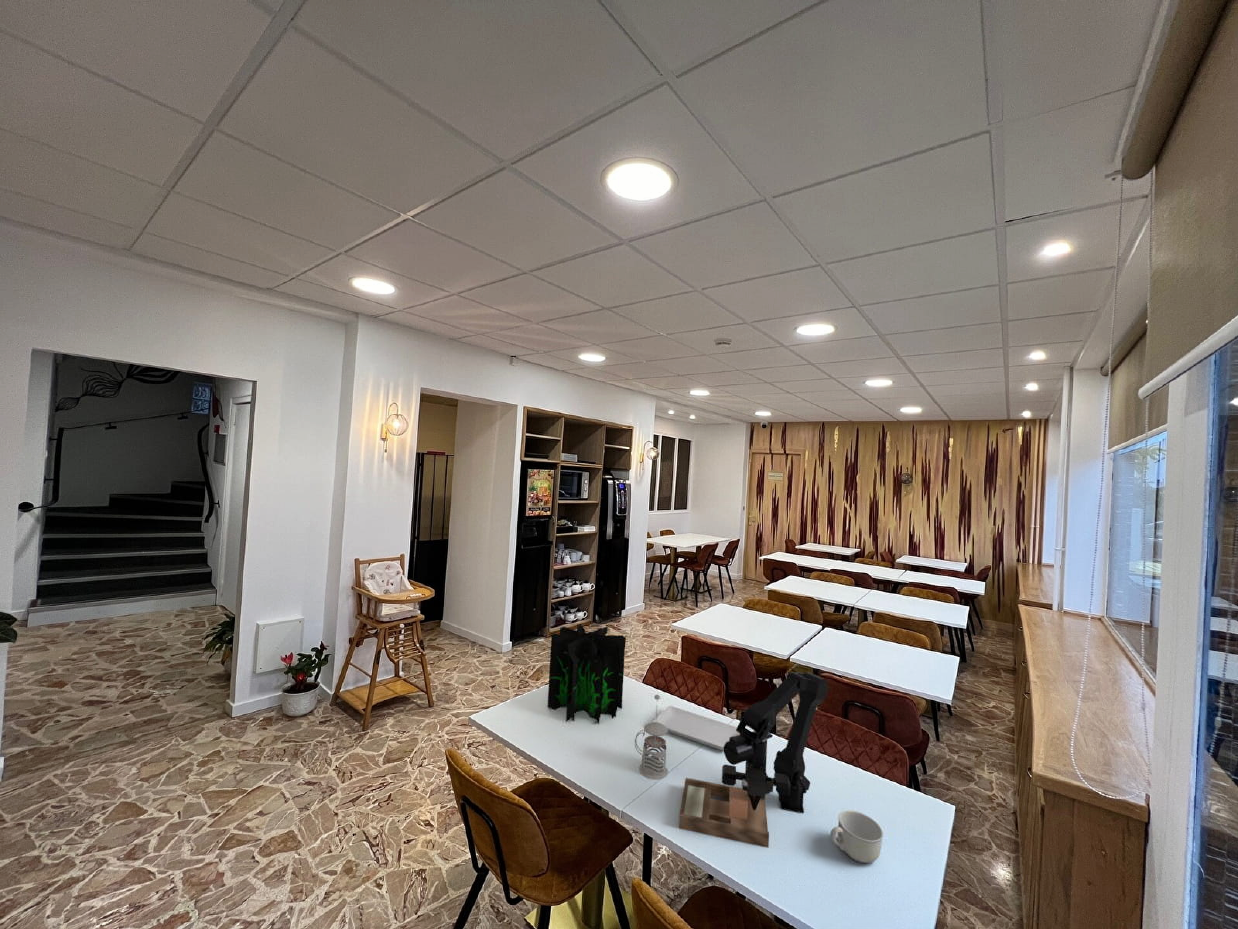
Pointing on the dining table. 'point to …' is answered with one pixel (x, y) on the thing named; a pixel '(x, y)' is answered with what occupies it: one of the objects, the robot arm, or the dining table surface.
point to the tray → (697, 727)
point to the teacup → (858, 836)
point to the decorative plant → (586, 672)
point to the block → (738, 803)
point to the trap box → (721, 814)
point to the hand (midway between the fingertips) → (754, 809)
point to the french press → (652, 764)
